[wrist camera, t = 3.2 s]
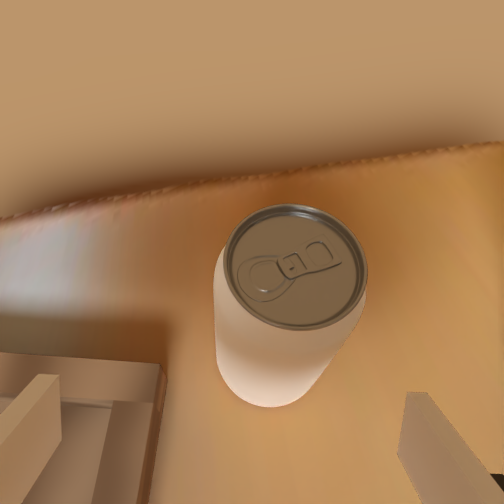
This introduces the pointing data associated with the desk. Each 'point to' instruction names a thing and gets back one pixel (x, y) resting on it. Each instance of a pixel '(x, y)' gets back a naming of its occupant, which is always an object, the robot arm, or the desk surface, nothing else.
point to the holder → (94, 427)
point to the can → (285, 300)
